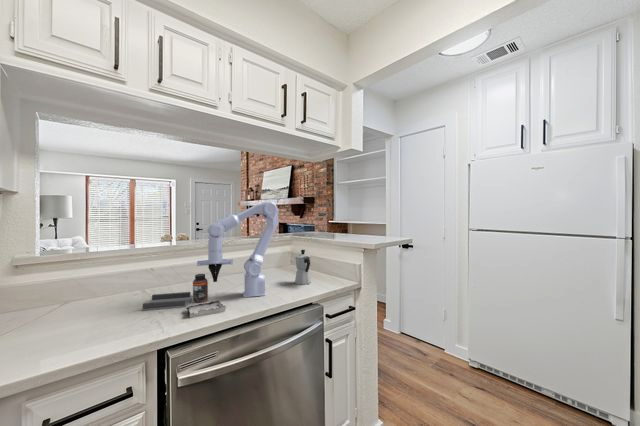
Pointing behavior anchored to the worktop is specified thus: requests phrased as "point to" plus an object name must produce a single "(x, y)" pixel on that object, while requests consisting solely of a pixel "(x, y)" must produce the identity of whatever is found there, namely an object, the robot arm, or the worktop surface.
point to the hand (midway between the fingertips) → (215, 281)
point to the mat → (168, 301)
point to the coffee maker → (302, 269)
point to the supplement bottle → (200, 288)
